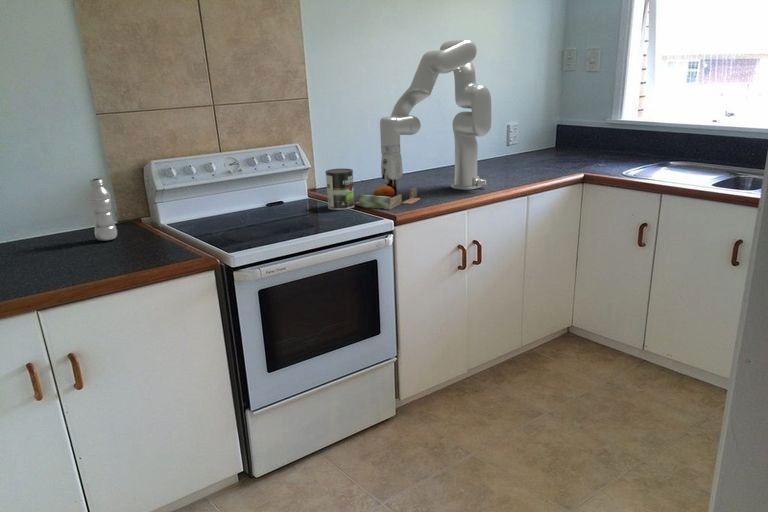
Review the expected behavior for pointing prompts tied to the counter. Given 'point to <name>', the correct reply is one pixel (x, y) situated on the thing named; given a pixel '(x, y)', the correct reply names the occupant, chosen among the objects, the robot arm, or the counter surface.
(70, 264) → the counter surface
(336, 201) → the coffee can
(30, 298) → the counter surface
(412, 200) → the trap marks
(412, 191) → the trap box
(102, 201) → the plastic bottle
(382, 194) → the fruit
